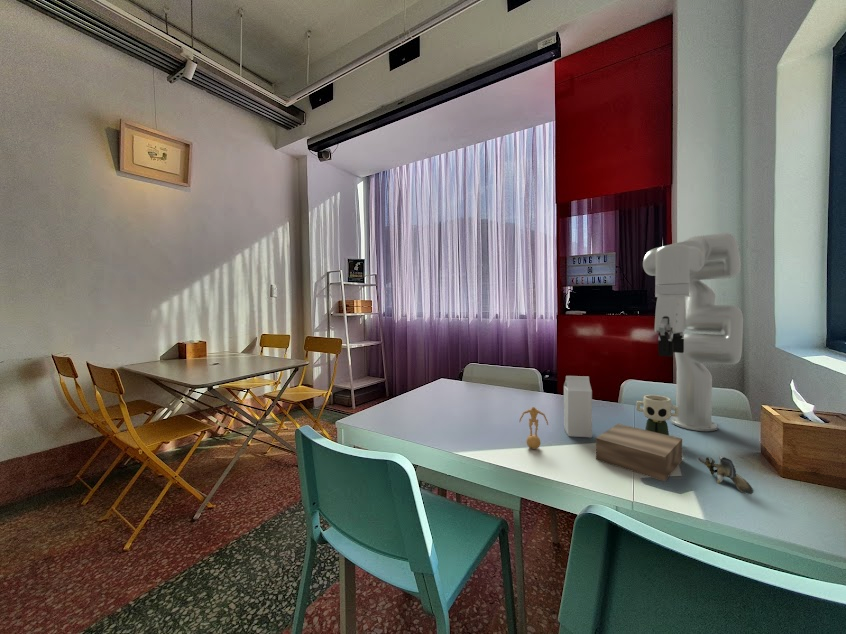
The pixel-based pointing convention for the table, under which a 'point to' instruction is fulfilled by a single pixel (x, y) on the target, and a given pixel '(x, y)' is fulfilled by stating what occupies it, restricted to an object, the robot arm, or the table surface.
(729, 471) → the eagle figurine
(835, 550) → the table surface
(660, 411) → the character mug
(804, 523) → the table surface
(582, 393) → the milk carton
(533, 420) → the figurine
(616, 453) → the walnut block
